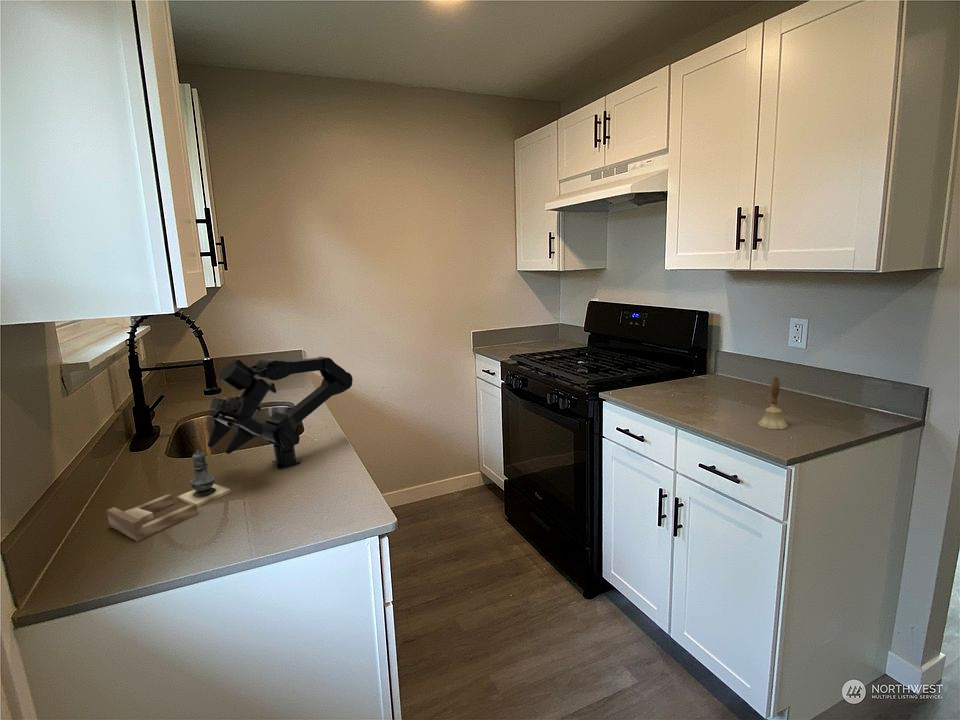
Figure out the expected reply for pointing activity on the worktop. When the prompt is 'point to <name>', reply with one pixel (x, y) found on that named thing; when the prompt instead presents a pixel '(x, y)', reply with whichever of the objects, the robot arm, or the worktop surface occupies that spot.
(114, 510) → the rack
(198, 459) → the grey chess piece
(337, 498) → the worktop surface
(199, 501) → the cork mat
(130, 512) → the offcut upper
